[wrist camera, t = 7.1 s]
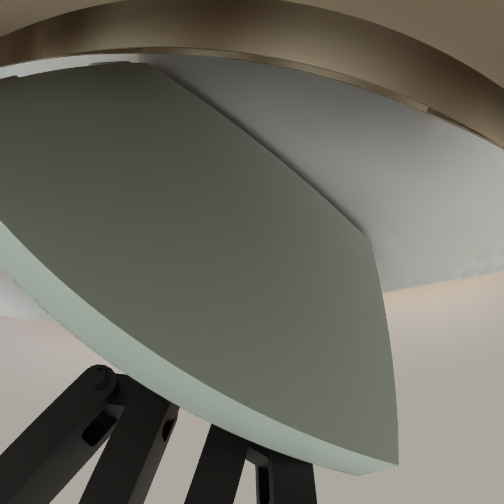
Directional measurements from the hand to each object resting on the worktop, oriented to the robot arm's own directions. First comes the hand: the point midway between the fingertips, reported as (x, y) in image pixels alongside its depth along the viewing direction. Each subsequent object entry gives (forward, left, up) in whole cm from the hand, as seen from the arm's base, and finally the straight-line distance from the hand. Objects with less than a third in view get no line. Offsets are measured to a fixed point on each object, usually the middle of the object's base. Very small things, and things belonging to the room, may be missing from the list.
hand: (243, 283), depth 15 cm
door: (-2, +4, -5) cm, 7 cm away
